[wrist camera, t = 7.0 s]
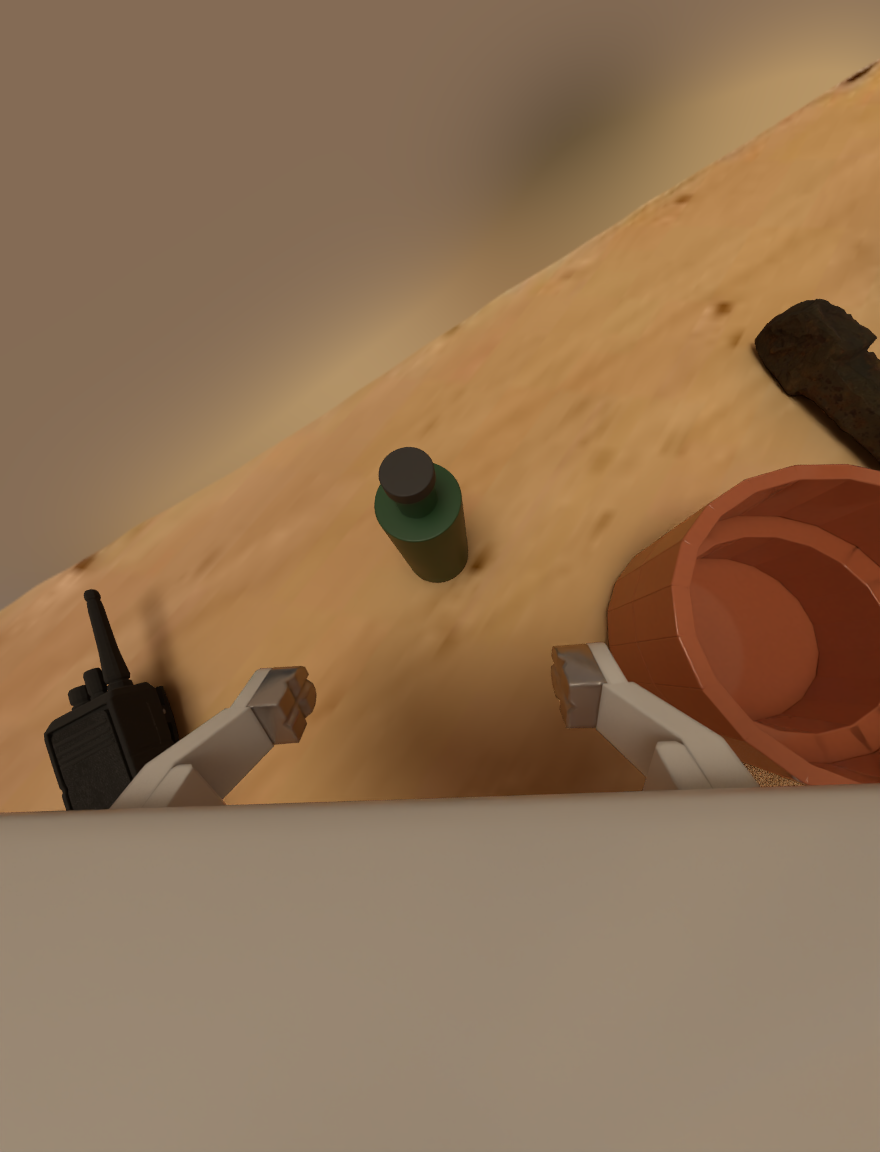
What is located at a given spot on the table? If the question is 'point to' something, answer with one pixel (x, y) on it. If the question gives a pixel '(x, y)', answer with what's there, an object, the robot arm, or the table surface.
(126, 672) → the walkie-talkie
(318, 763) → the table surface
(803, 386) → the dark brown rough bar
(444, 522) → the plant food bottle
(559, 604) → the table surface
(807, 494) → the pot
